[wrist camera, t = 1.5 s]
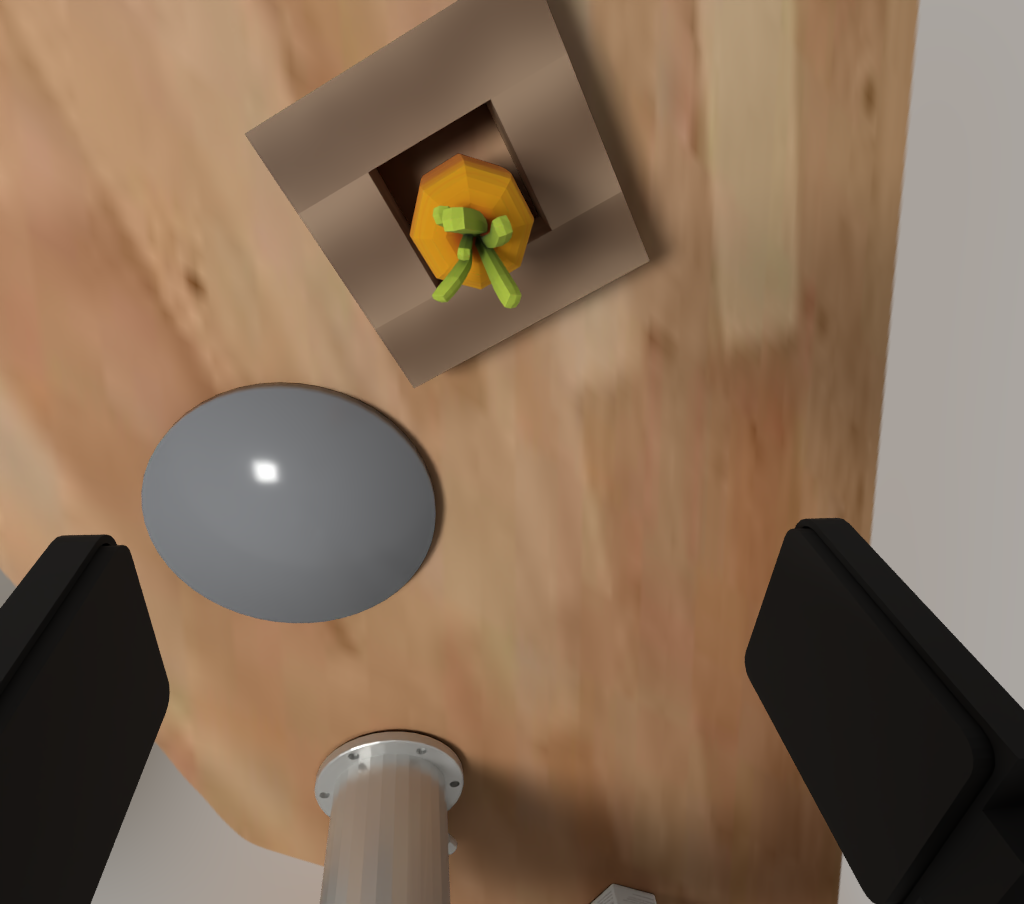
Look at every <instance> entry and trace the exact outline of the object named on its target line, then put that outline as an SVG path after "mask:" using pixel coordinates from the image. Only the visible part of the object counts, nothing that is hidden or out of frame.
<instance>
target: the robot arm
mask: <svg viewBox="0 0 1024 904" xmlns="http://www.w3.org/2000/svg"><path fill="white" fill-rule="evenodd" d="M745 667H746V672H747V675H748V677H749V679H750V681H751V683H752V685H753V687H754V689H755V691H756V692H757V694H758V696H759V698H760V700H761V702H762V704H763V705H764V707H765V709H766V711H767V713H768V715H769V717H770V718H771V720H772V722H773V724H774V726H775V728H776V730H777V731H778V733H779V735H780V737H781V739H782V741H783V743H784V745H785V746H786V748H787V750H788V752H789V754H790V756H791V758H792V759H793V761H794V763H795V765H796V767H797V769H798V771H799V772H800V774H801V776H802V778H803V780H804V782H805V784H806V785H807V787H808V789H809V791H810V793H811V795H812V797H813V798H814V800H815V802H816V804H817V806H818V808H819V810H820V812H821V813H822V815H823V817H824V819H825V821H826V823H827V825H828V826H829V828H830V830H831V832H832V834H833V836H834V838H835V839H836V841H837V843H838V845H839V847H840V849H841V851H842V852H843V854H844V856H845V858H846V860H847V862H848V864H849V866H850V867H851V869H852V871H853V873H854V875H855V877H856V878H857V880H858V882H859V884H860V886H861V888H862V889H863V891H864V892H865V894H866V896H867V897H868V898H869V899H870V900H871V901H872V902H873V903H875V904H1024V710H1023V708H1022V707H1021V706H1020V705H1019V704H1018V703H1017V702H1016V701H1015V700H1014V699H1013V698H1012V697H1011V696H1010V695H1009V693H1008V692H1007V691H1006V690H1005V689H1004V688H1003V687H1002V686H1001V685H1000V684H999V683H998V682H997V681H996V680H995V679H994V677H993V676H992V675H991V674H990V673H989V672H988V671H987V670H986V669H985V668H984V667H983V666H982V665H981V664H980V663H979V662H978V661H977V659H976V658H975V657H974V656H973V655H972V654H971V653H970V652H969V651H968V650H967V649H966V648H965V647H964V646H963V644H962V643H961V642H960V641H959V640H958V639H957V638H956V637H955V636H954V635H953V634H952V633H951V632H950V631H949V630H948V629H947V627H946V626H945V625H944V624H943V623H942V622H941V621H940V620H939V619H938V618H937V617H936V616H935V615H934V614H933V612H932V611H931V610H930V609H929V608H928V607H927V606H926V605H925V604H924V603H923V602H922V601H921V600H920V599H919V598H918V597H917V595H915V593H914V592H913V591H912V590H911V589H910V588H909V587H908V586H907V585H906V584H905V583H904V582H903V581H902V580H901V578H900V577H899V576H898V575H897V574H896V573H895V572H894V571H893V570H892V569H891V568H890V567H889V566H888V565H887V563H886V562H885V561H884V560H883V559H882V558H881V557H880V556H879V555H878V554H877V553H876V552H875V551H874V550H873V548H872V547H871V546H870V545H869V544H868V543H867V542H866V541H865V540H864V539H863V538H862V537H861V536H860V535H859V534H858V532H857V531H856V530H855V529H854V528H853V527H852V526H851V525H850V524H849V523H848V522H846V521H845V520H844V519H840V518H819V519H803V520H801V521H800V522H799V523H797V525H796V527H795V529H790V530H789V531H788V532H787V534H786V536H785V538H784V541H783V544H782V547H781V550H780V553H779V556H778V559H777V561H776V564H775V567H774V570H773V573H772V576H771V579H770V582H769V585H768V588H767V591H766V594H765V597H764V600H763V603H762V606H761V609H760V612H759V615H758V618H757V621H756V623H755V626H754V629H753V632H752V635H751V638H750V641H749V644H748V647H747V650H746V654H745ZM169 693H170V691H169V682H168V678H167V675H166V671H165V668H164V665H163V661H162V658H161V654H160V651H159V648H158V644H157V641H156V637H155V634H154V630H153V627H152V624H151V620H150V617H149V613H148V610H147V606H146V603H145V600H144V596H143V593H142V589H141V586H140V583H139V579H138V576H137V572H136V569H135V565H134V562H133V559H132V555H131V553H130V550H129V549H128V547H127V546H124V545H117V544H116V542H115V540H114V539H113V538H112V537H111V536H109V535H66V536H60V537H57V538H56V539H55V540H54V541H52V542H51V544H50V545H49V546H48V548H47V549H46V550H45V551H44V553H43V554H42V555H41V557H40V558H39V559H38V560H37V562H36V563H35V564H34V566H33V567H32V568H31V569H30V571H29V572H28V573H27V575H26V576H25V577H24V578H23V580H22V581H21V582H20V584H19V585H18V586H17V588H16V589H15V590H14V591H13V593H12V594H11V595H10V597H9V598H8V599H7V600H6V602H5V603H4V604H3V606H2V607H1V608H0V904H91V901H92V898H93V896H94V893H95V891H96V888H97V886H98V883H99V881H100V878H101V876H102V873H103V870H104V868H105V866H106V863H107V860H108V858H109V855H110V853H111V850H112V848H113V845H114V843H115V840H116V838H117V835H118V833H119V830H120V827H121V825H122V822H123V820H124V817H125V815H126V812H127V810H128V807H129V805H130V802H131V799H132V797H133V794H134V792H135V789H136V787H137V784H138V782H139V779H140V776H141V774H142V772H143V769H144V766H145V764H146V761H147V759H148V756H149V754H150V751H151V749H152V746H153V744H154V741H155V739H156V736H157V733H158V731H159V728H160V726H161V723H162V721H163V718H164V716H165V713H166V710H167V707H168V702H169ZM463 785H464V782H463V769H462V764H461V762H460V760H459V758H458V756H457V755H456V754H455V753H454V752H453V751H452V750H451V749H450V748H449V747H448V746H446V745H445V744H443V743H442V742H440V741H438V740H436V739H433V738H431V737H429V736H425V735H421V734H417V733H410V732H382V733H375V734H370V735H366V736H363V737H359V738H357V739H354V740H352V741H350V742H347V743H345V744H344V745H342V746H341V747H339V748H337V749H336V750H334V751H333V752H332V753H331V754H330V755H329V756H328V757H327V758H326V759H325V760H324V762H323V763H322V764H321V766H320V768H319V771H318V773H317V777H316V784H315V797H316V800H317V802H318V804H319V806H320V807H321V809H322V810H323V811H324V813H326V814H327V815H328V816H329V817H330V823H329V831H328V839H327V848H326V856H325V864H324V873H323V881H322V889H321V897H320V904H450V881H449V854H452V853H453V852H455V850H456V848H457V841H456V839H455V838H454V837H452V836H451V835H450V834H449V833H448V816H447V811H448V810H450V809H451V807H452V806H453V805H454V804H455V803H456V802H457V800H458V799H459V797H460V795H461V793H462V789H463Z"/></svg>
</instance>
